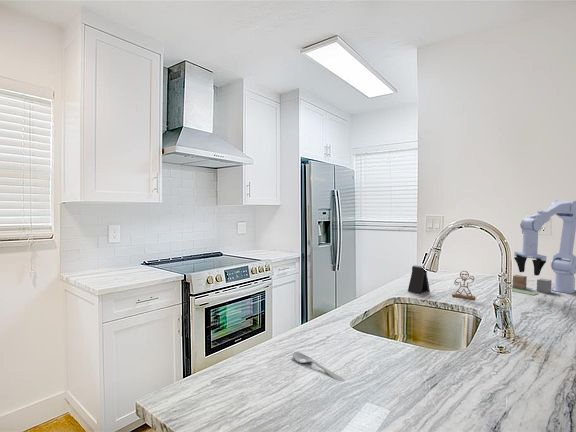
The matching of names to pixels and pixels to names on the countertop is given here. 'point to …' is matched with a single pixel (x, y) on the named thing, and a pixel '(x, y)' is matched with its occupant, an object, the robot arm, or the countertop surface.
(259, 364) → the countertop surface
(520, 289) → the blue card
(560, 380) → the countertop surface
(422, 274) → the phone stand
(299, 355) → the spoon
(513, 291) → the rubber mat
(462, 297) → the grey figurine
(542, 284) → the grey block
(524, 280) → the walnut block
